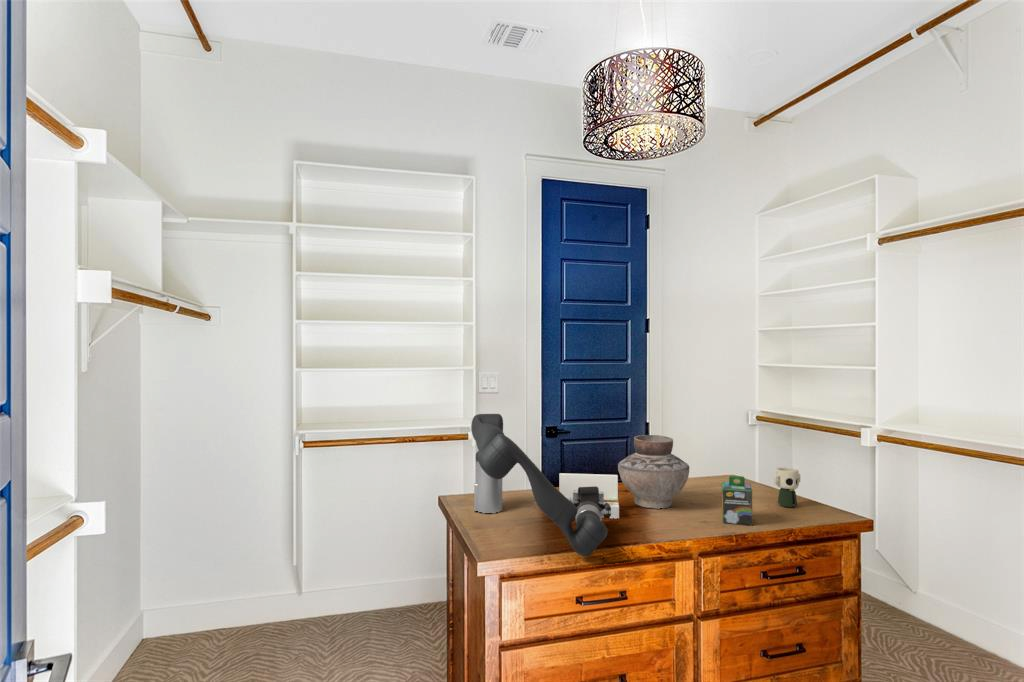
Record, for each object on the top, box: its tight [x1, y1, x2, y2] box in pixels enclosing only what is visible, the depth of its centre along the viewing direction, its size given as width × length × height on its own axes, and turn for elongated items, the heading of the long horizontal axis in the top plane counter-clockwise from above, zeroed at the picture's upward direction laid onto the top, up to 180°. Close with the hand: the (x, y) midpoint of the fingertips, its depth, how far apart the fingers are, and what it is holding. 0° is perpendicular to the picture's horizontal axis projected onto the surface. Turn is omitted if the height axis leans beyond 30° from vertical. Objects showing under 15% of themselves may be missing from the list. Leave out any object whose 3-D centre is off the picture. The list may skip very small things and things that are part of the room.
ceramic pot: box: [617, 434, 690, 510], centre depth 212 cm, size 25×25×24 cm
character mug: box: [773, 466, 801, 508], centre depth 210 cm, size 11×7×13 cm, turn 107°
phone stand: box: [574, 486, 599, 522], centre depth 188 cm, size 9×6×12 cm, turn 10°
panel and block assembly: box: [558, 472, 620, 519], centre depth 201 cm, size 20×11×12 cm, turn 83°
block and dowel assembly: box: [573, 490, 620, 519], centre depth 197 cm, size 15×3×8 cm, turn 83°
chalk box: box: [721, 475, 754, 526], centre depth 193 cm, size 9×9×15 cm
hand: (588, 502), depth 190 cm, fingers closed on phone stand, 6 cm apart
